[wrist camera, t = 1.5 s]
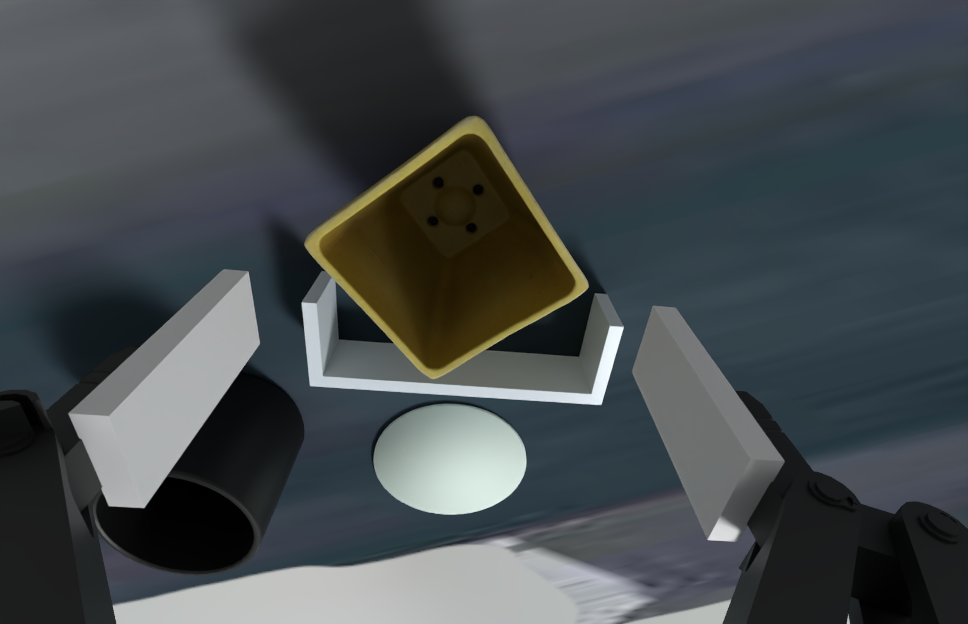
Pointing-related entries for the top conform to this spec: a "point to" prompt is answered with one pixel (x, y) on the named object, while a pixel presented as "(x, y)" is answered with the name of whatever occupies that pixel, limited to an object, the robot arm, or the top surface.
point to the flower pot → (449, 251)
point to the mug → (214, 487)
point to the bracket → (473, 378)
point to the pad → (450, 459)
